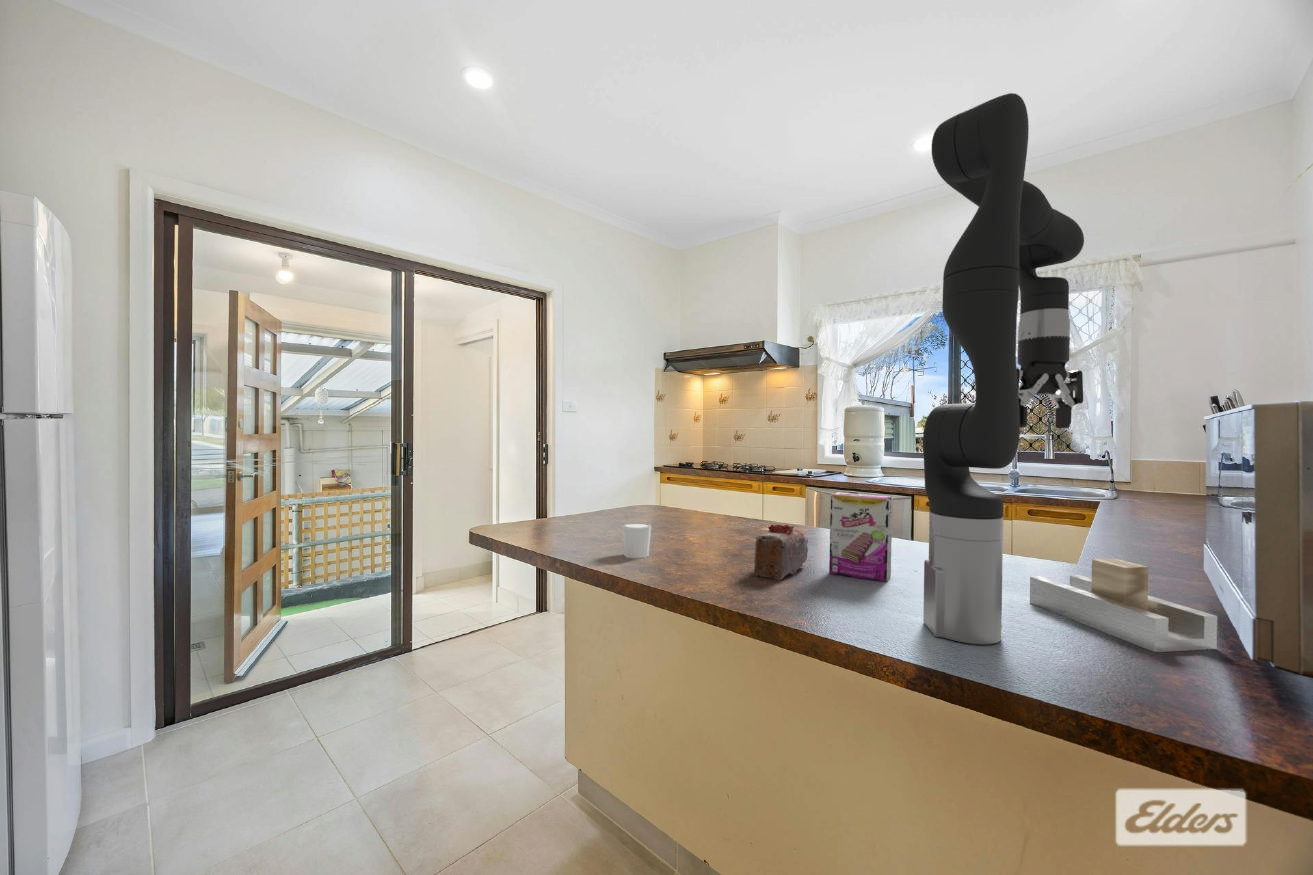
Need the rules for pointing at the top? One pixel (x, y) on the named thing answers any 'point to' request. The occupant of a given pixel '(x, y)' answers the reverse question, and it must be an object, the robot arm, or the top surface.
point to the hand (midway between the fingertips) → (1041, 427)
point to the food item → (780, 552)
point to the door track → (1128, 616)
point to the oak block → (1121, 582)
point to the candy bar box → (861, 536)
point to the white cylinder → (636, 540)
